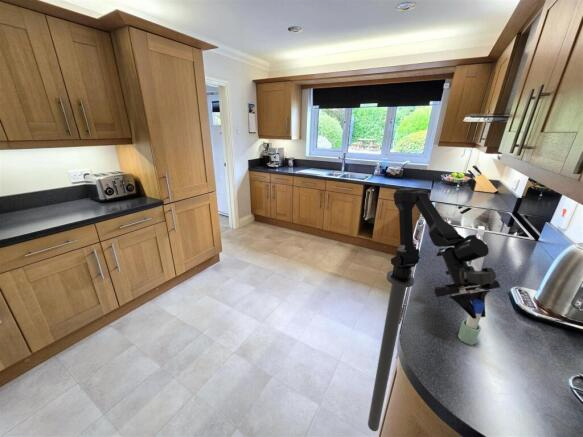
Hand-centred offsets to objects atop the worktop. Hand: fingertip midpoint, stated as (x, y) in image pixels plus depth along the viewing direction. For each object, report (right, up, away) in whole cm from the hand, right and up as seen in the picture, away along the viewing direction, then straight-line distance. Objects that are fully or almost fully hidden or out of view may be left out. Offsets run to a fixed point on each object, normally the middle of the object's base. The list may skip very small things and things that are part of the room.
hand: (479, 317), depth 71 cm
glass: (0, -8, +4) cm, 10 cm away
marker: (0, -6, +4) cm, 7 cm away
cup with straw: (+12, -1, +26) cm, 28 cm away
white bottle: (+20, +1, +33) cm, 39 cm away
